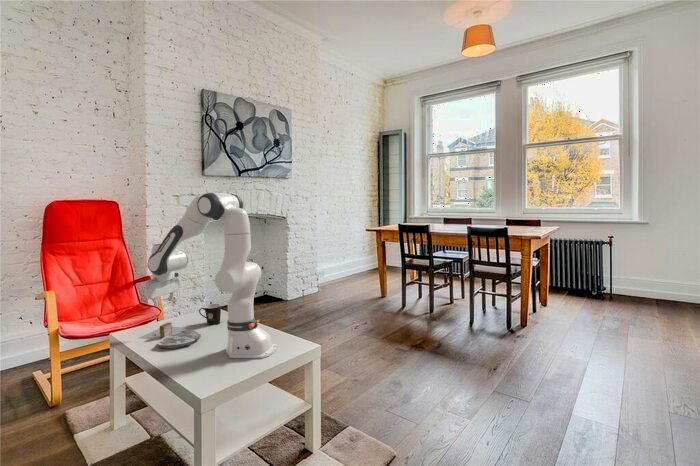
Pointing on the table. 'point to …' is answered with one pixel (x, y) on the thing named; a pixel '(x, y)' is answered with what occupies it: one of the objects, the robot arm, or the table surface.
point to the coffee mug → (212, 313)
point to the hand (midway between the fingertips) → (163, 303)
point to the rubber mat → (152, 334)
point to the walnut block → (165, 330)
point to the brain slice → (179, 339)
